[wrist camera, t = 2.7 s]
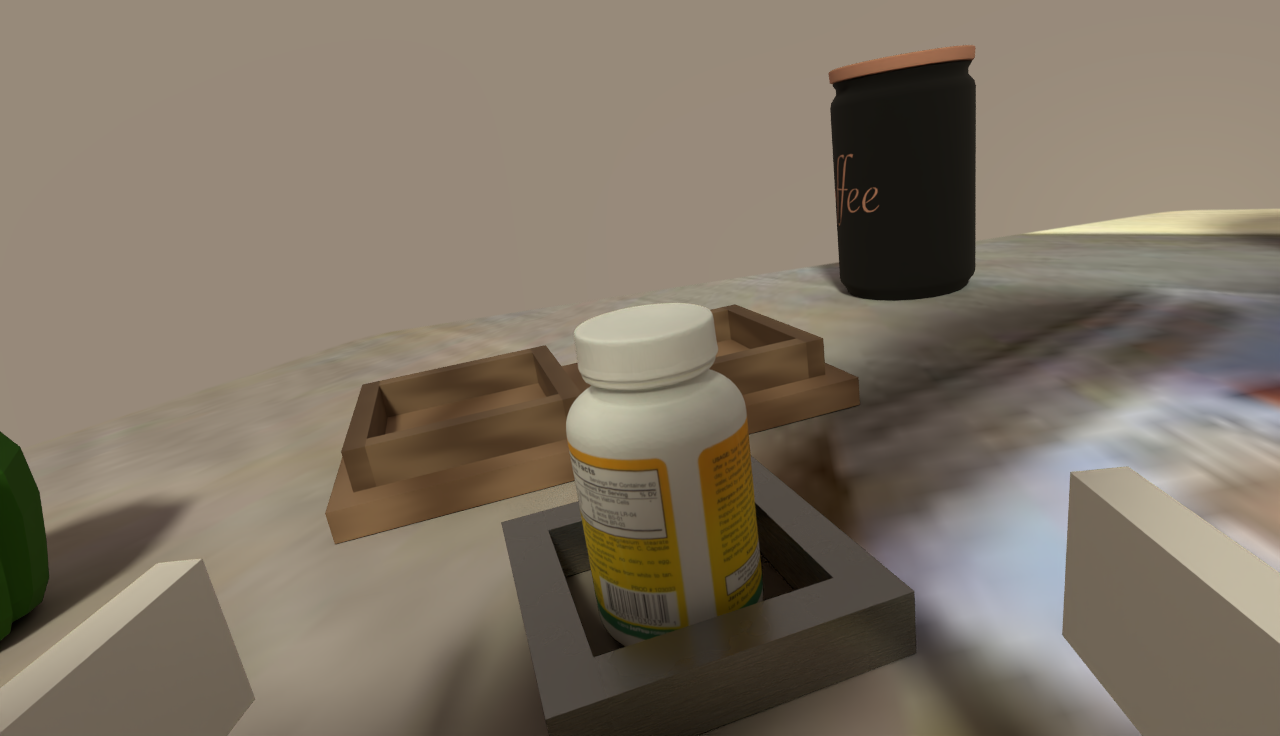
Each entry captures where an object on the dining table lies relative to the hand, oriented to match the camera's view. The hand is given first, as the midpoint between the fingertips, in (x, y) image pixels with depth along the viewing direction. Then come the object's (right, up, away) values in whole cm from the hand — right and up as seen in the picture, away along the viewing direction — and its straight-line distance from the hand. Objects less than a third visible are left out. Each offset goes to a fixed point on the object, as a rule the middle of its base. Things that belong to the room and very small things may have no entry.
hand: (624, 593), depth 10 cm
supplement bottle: (+2, -4, +12) cm, 13 cm away
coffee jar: (+23, +10, +48) cm, 54 cm away
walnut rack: (-3, 0, +29) cm, 29 cm away
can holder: (+2, -4, +12) cm, 13 cm away
